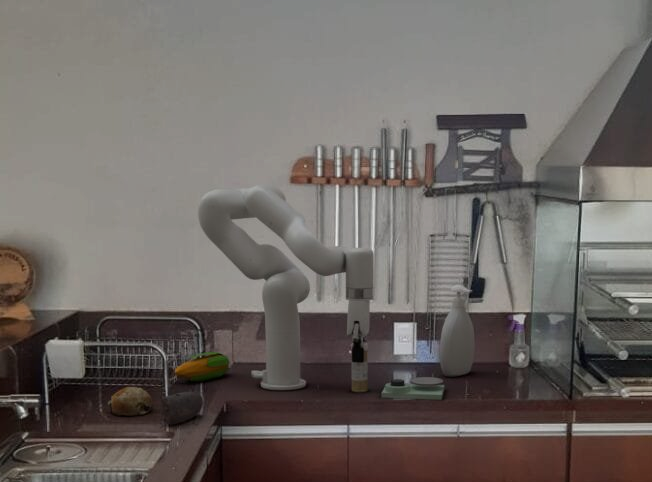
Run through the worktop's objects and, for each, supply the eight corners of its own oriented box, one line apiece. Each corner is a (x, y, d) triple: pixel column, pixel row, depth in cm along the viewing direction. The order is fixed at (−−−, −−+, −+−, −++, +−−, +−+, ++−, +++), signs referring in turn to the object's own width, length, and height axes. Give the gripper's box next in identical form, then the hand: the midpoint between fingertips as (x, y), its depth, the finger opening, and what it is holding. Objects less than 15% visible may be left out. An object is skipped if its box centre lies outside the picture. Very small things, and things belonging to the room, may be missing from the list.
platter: (408, 385, 241) (408, 383, 240) (412, 378, 249) (412, 376, 249) (442, 386, 240) (442, 384, 239) (444, 379, 248) (444, 377, 248)
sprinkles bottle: (361, 388, 250) (361, 340, 247) (371, 391, 246) (371, 343, 244) (347, 390, 247) (347, 342, 245) (357, 393, 243) (357, 344, 241)
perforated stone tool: (193, 412, 221) (193, 384, 220) (211, 414, 219) (210, 387, 218) (153, 426, 208) (152, 397, 207) (172, 429, 206) (171, 399, 205)
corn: (235, 349, 265) (183, 359, 248) (237, 374, 266) (185, 386, 249) (217, 348, 269) (165, 358, 253) (219, 373, 270) (167, 385, 254)
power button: (390, 387, 239) (390, 381, 239) (391, 384, 243) (391, 379, 243) (403, 387, 239) (403, 382, 239) (405, 385, 242) (405, 379, 242)
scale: (381, 398, 239) (381, 387, 238) (387, 388, 251) (387, 377, 250) (441, 400, 237) (441, 389, 236) (444, 390, 249) (444, 379, 248)
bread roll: (129, 432, 216) (139, 404, 214) (96, 410, 219) (107, 382, 217) (154, 422, 226) (164, 395, 223) (123, 401, 228) (133, 375, 226)
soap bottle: (453, 380, 261) (455, 288, 256) (432, 376, 267) (434, 285, 262) (484, 373, 272) (486, 284, 267) (463, 369, 277) (465, 282, 272)
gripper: (351, 290, 251) (351, 354, 254) (340, 297, 234) (340, 366, 237) (377, 290, 250) (377, 355, 253) (368, 297, 233) (368, 366, 236)
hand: (359, 359), depth 245 cm, fingers closed on sprinkles bottle, 4 cm apart
